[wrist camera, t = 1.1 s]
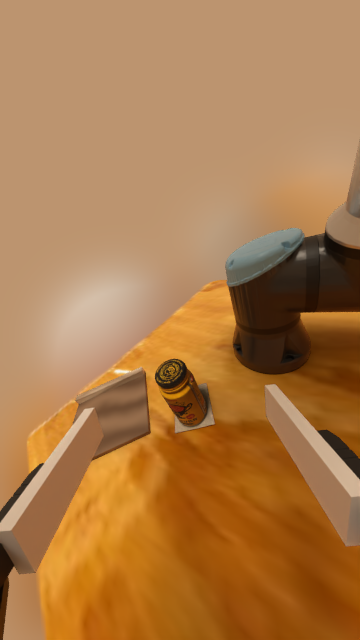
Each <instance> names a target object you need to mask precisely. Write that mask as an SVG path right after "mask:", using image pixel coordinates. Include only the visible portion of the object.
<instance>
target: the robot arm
mask: <svg viewBox="0 0 360 640" xmlns="http://www.w3.org/2000/svg"><path fill="white" fill-rule="evenodd" d="M225 268H226V274H227V285H228V287H229V292H230V296H231V301H232V306H233V310H234V315H235V319H236V327H235V332H234V337H233V348H234V352H235V355H236V357H237V359H238V360H239V361H240V362H241V363H242V364H243V365H245V366H246V367H248V368H250V369H252V370H254V371H257V372H261V373H267V374H281V373H287V372H290V371H293V370H296V369H298V368H299V367H301V366H302V365H303V364H304V363H305V362H306V361H307V360H308V358H309V355H310V346H311V343H310V338H309V336H308V334H307V332H306V330H305V327H304V325H303V323H302V321H301V319H300V313H304V312H360V141H359V146H358V150H357V155H356V159H355V164H354V169H353V174H352V178H351V183H350V188H349V192H348V197H347V201H346V202H345V203H344V204H342V205H341V206H340V207H338V208H337V209H336V210H335V211H334V212H333V213H332V214H331V215H330V216H329V218H328V220H327V223H326V227H325V233H323V234H319V235H315V236H310V237H305V238H304V233H303V232H302V230H301V229H298V228H290V229H287V230H281V231H277V232H273V233H271V234H268V235H265V236H262V237H260V238H257V239H255V240H253V241H251V242H249V243H247V244H245V245H243V246H242V247H240V248H238V249H237V250H236V251H234V252H233V253H232V254H231V255H230V256H229V257H228V259H227V261H226V266H225ZM265 404H266V417H267V418H268V420H269V422H270V423H271V425H272V427H273V428H274V430H275V432H276V433H277V435H278V436H279V438H280V440H281V441H282V443H283V445H284V446H285V448H286V449H287V451H288V453H289V454H290V456H291V458H292V459H293V461H294V462H295V464H296V466H297V467H298V469H299V471H300V472H301V474H302V476H303V477H304V479H305V480H306V482H307V484H308V485H309V487H310V489H311V490H312V492H313V493H314V495H315V497H316V498H317V500H318V502H319V503H320V505H321V507H322V508H323V510H324V511H325V513H326V515H327V516H328V518H329V520H330V521H331V523H332V524H333V526H334V528H335V529H336V531H337V533H338V534H339V536H340V537H341V539H342V541H343V542H344V544H345V546H357V545H360V459H359V458H358V456H357V455H356V454H355V453H354V452H353V451H352V450H350V449H349V447H348V446H347V445H346V444H345V443H344V442H343V441H342V440H341V439H340V438H339V437H337V436H336V435H334V434H333V433H331V432H330V431H328V430H320V431H316V430H315V429H314V427H313V426H312V425H311V424H310V423H309V422H308V421H307V420H306V418H305V417H304V416H303V415H302V414H301V413H300V412H299V410H298V409H297V408H296V407H295V406H294V405H293V404H292V403H291V401H290V400H289V399H288V398H287V397H286V396H285V395H284V394H283V392H282V391H281V390H280V389H279V388H278V387H277V386H276V385H275V384H271V385H265ZM102 438H103V433H102V430H101V426H100V423H99V420H98V417H97V414H96V411H95V408H88V409H84V411H83V412H82V413H81V415H80V416H79V418H78V419H77V420H76V422H75V423H74V424H73V426H72V427H71V428H70V430H69V431H68V432H67V434H66V435H65V436H64V438H63V439H62V440H61V442H60V443H59V444H58V446H57V447H56V448H55V450H54V451H53V452H52V454H51V455H50V456H49V458H48V459H47V461H46V462H45V463H42V464H39V465H38V466H37V467H36V468H35V469H34V470H33V471H32V472H31V473H30V474H29V475H28V476H27V478H26V479H25V480H24V482H23V483H22V484H21V486H20V487H19V488H18V489H17V491H16V492H15V493H14V495H13V497H11V498H10V499H9V501H8V502H7V503H6V505H5V506H4V507H3V508H2V510H1V511H0V640H3V632H4V623H5V615H6V606H7V597H8V589H9V580H8V575H9V573H10V572H11V570H12V568H13V567H15V568H16V570H17V571H18V573H19V574H27V573H36V571H37V569H38V567H39V565H40V563H41V561H42V559H43V557H44V555H45V553H46V551H47V549H48V547H49V545H50V543H51V541H52V539H53V537H54V535H55V533H56V531H57V529H58V527H59V525H60V523H61V521H62V519H63V517H64V515H65V513H66V511H67V509H68V507H69V505H70V503H71V501H72V499H73V497H74V495H75V493H76V491H77V489H78V487H79V485H80V483H81V480H82V478H83V476H84V474H85V472H86V470H87V468H88V466H89V464H90V462H91V460H92V458H93V456H94V454H95V452H96V450H97V448H98V446H99V444H100V442H101V440H102Z"/></svg>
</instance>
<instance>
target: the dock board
mask: <svg viewBox="0 0 360 640" xmlns="http://www.w3.org/2000/svg"><path fill="white" fill-rule="evenodd" d="M75 401H76V402H77V403H78V404H79V406H78V409H77V412H76V415H75V418H74V421H73V424H74V423H75V422H76V420H77V419H78V418H79V416H80V415H81V413H82V412H83V411H84V409H88V408H95V411H96V414H97V417H98V420H99V423H100V426H101V430H102V433H103V438H102V440H101V442H100V444H99V446H98V448H97V450H96V452H95V454H94V456H93V458H92V460H94V459H96V458H98V457H101V456H103V455H105V454H107V453H109V452H111V451H113V450H116V449H118V448H120V447H122V446H124V445H126V444H128V443H131V442H133V441H135V440H137V439H139V438H141V437H143V436H146V435H148V434H150V422H149V410H148V398H147V386H146V373H145V371H144V370H143V368H142V367H140V368H138V369H136V370H133V371H131V372H129V373H127V374H124V375H122V376H120V377H118V378H116V379H113V380H111V381H109V382H107V383H104V384H102V385H100V386H98V387H96V388H93V389H91V390H89V391H87V392H84V393H82V394H80V395H78V396H77V397H76V400H75ZM72 426H73V425H72ZM92 460H91V461H92Z"/></svg>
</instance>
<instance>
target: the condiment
mask: <svg viewBox="0 0 360 640" xmlns="http://www.w3.org/2000/svg"><path fill="white" fill-rule="evenodd" d="M155 380H156V382H157V384H158V386H159V388H160V392H161V394H162V396H163V397H164V399H165V401H166V402H167V403H168V405H169V407H170V408H171V409H172V411H173V412H174V414H175V433H178V432H183V431H188V430H192V429H196V428H201V427H205V426H209V425H213V424H215V423H214V418H213V413H212V408H211V403H210V399H209V394H208V389H207V384H206V383H204V384H201V385H197V383H196V381H195V379H194V376H193V374H192V373H191V372H190V371H189V370H188V369H187V367H186V365H185V363H184V362H183V361H181V360H178V359H171V360H168V361H166V362H164V363H163V364H161V365H160V366H159V368H158V369H157V371H156V374H155Z"/></svg>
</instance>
